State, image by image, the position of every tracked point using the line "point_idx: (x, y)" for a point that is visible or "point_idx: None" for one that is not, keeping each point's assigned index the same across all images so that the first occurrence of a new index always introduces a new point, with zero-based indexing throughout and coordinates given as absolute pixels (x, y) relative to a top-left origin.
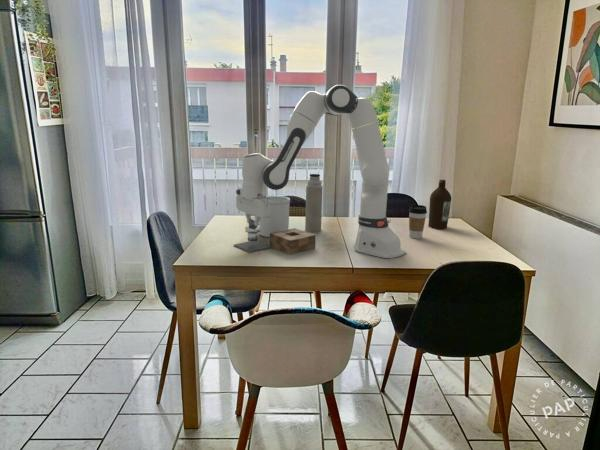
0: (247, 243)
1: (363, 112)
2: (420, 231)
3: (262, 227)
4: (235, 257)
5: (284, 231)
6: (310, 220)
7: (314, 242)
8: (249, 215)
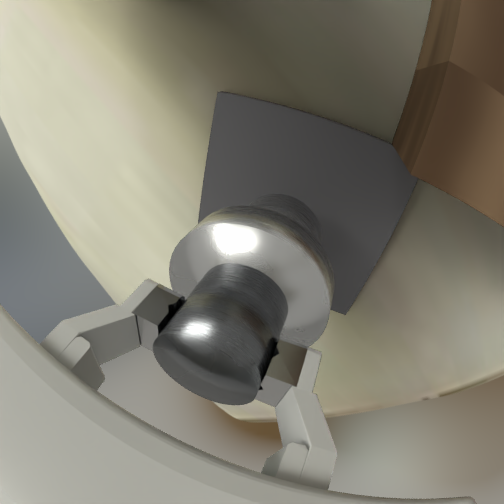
0: (233, 198)
1: None
2: None
3: None
4: (324, 367)
5: (499, 35)
6: None
7: None
8: (90, 338)
